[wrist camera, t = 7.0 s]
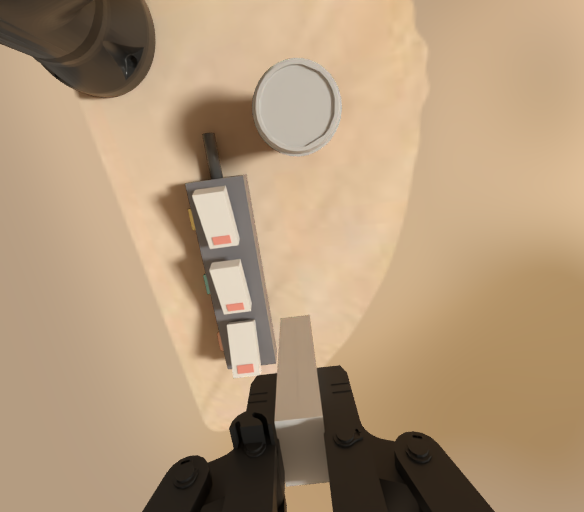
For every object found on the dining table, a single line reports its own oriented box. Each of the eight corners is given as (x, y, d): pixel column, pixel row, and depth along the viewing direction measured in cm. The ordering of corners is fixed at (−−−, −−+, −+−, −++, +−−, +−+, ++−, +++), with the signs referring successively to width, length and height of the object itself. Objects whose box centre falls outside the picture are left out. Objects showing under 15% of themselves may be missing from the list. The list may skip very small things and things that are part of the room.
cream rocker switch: (229, 322, 47) (226, 324, 46) (255, 319, 47) (252, 321, 45) (236, 373, 47) (233, 378, 45) (261, 370, 47) (259, 375, 45)
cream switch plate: (211, 262, 42) (209, 270, 41) (240, 258, 42) (238, 266, 41) (225, 306, 46) (223, 315, 45) (251, 303, 46) (250, 311, 45)
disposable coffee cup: (262, 158, 44) (253, 156, 33) (259, 84, 41) (248, 54, 30) (328, 157, 44) (342, 155, 33) (329, 83, 41) (345, 52, 30)
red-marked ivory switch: (195, 189, 39) (191, 196, 38) (225, 185, 39) (223, 191, 38) (212, 242, 44) (209, 249, 42) (239, 238, 44) (238, 245, 42)
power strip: (179, 139, 43) (167, 136, 39) (238, 130, 43) (233, 126, 39) (228, 356, 54) (223, 374, 49) (276, 350, 53) (275, 367, 49)
